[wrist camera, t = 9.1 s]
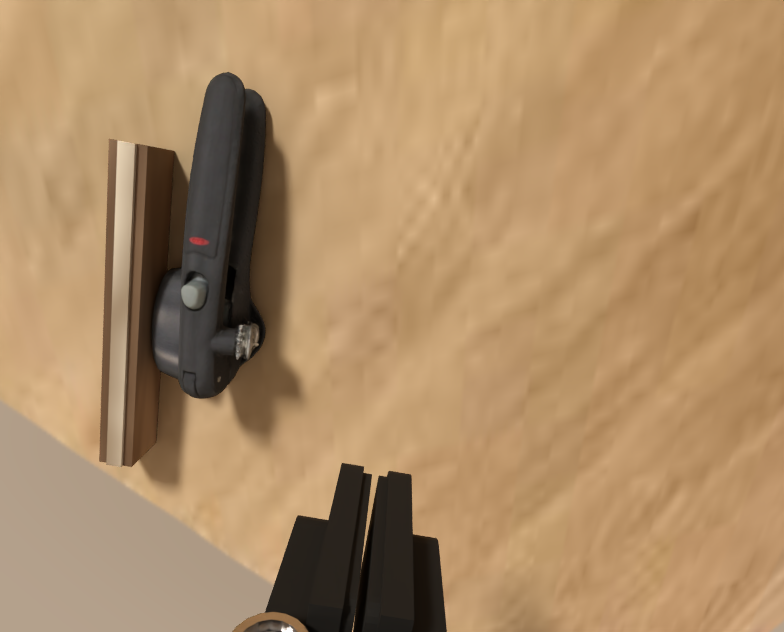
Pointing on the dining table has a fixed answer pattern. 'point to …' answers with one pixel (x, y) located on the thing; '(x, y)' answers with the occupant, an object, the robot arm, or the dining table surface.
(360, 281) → the dining table surface
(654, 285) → the dining table surface
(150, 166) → the walnut rail
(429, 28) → the dining table surface
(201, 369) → the can opener
